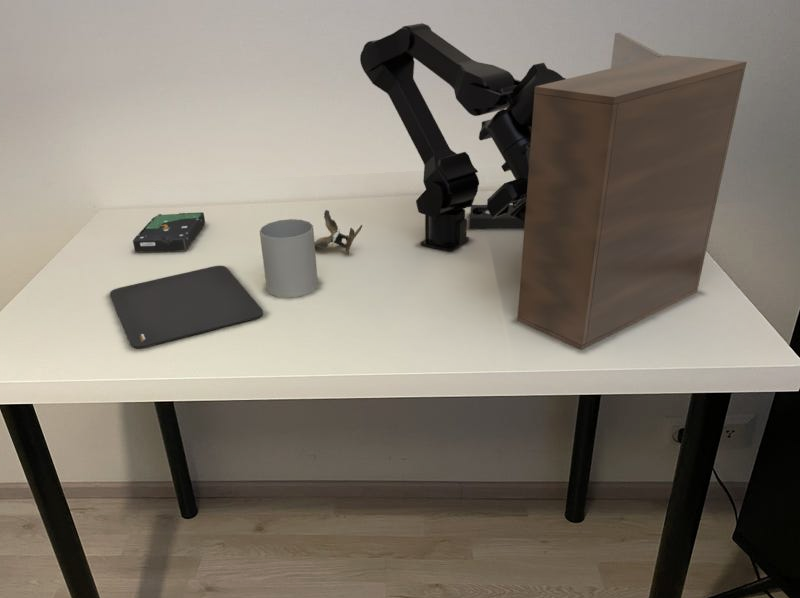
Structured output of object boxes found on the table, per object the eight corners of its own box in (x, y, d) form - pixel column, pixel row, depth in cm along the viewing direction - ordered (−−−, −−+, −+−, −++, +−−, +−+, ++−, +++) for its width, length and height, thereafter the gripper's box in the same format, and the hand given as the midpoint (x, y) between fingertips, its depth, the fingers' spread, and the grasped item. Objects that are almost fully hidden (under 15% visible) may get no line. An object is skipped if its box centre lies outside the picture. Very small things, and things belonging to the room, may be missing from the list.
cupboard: (517, 321, 101) (534, 86, 85) (631, 270, 112) (665, 55, 96) (581, 351, 92) (614, 97, 76) (697, 292, 104) (747, 61, 88)
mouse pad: (108, 291, 120) (108, 290, 120) (224, 265, 126) (223, 263, 126) (132, 350, 101) (132, 348, 101) (266, 316, 108) (266, 314, 107)
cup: (324, 278, 118) (320, 220, 113) (307, 299, 112) (302, 239, 107) (278, 274, 121) (271, 218, 116) (258, 295, 115) (251, 236, 109)
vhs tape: (546, 214, 136) (547, 204, 135) (549, 229, 130) (550, 218, 129) (470, 214, 139) (471, 204, 138) (469, 228, 133) (469, 218, 132)
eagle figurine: (368, 238, 129) (329, 221, 133) (358, 214, 123) (318, 198, 127) (344, 270, 128) (306, 253, 132) (334, 248, 122) (294, 230, 126)
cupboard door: (625, 212, 133) (653, 30, 117) (665, 267, 112) (705, 53, 96) (592, 213, 134) (614, 32, 118) (625, 268, 113) (658, 56, 97)
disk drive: (187, 252, 133) (206, 224, 146) (185, 238, 132) (204, 210, 145) (134, 254, 135) (157, 225, 147) (131, 240, 133) (154, 212, 146)
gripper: (506, 124, 94) (565, 224, 92) (598, 100, 103) (654, 191, 100) (463, 171, 104) (514, 263, 102) (550, 146, 113) (599, 230, 110)
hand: (572, 236), depth 103 cm, fingers closed on soda can, 5 cm apart
